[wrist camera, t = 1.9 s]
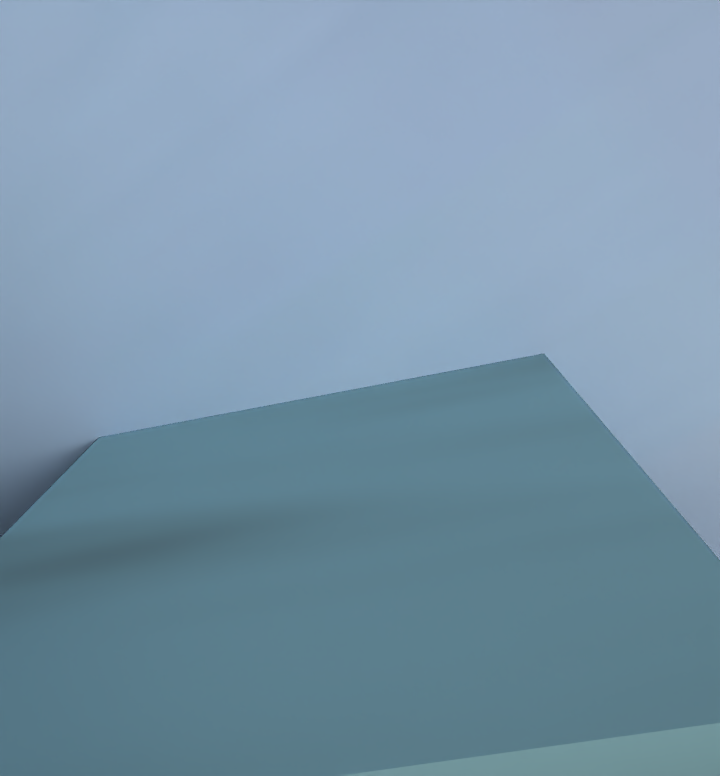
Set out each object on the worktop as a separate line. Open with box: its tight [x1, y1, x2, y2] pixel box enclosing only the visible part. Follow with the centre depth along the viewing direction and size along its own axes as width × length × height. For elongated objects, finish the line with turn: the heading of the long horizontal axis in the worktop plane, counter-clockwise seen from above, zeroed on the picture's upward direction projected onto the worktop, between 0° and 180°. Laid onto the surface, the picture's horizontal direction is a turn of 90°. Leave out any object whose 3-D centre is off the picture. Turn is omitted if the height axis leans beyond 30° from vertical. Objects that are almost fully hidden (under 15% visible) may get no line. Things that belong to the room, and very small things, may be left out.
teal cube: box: [0, 354, 720, 776], centre depth 7 cm, size 6×6×6 cm
